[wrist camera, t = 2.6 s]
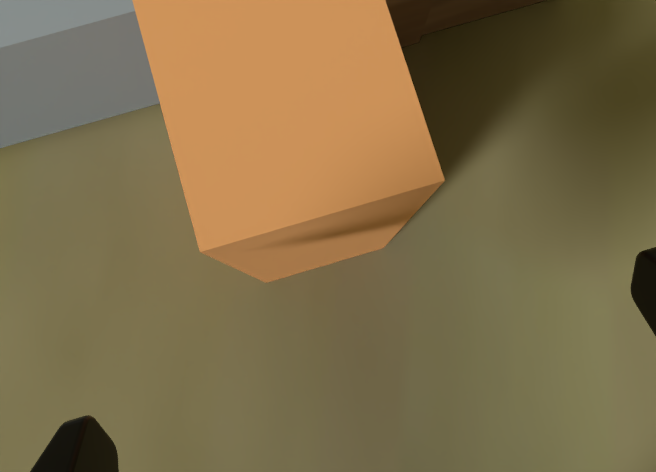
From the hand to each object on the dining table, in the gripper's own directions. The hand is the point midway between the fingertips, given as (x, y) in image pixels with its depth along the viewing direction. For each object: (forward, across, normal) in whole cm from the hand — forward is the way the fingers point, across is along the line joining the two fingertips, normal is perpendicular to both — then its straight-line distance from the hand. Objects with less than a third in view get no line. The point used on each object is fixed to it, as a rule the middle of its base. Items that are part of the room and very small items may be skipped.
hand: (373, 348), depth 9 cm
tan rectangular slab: (+12, 0, +4) cm, 13 cm away
